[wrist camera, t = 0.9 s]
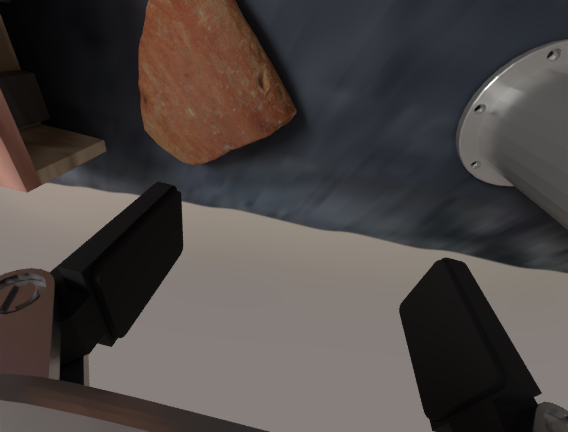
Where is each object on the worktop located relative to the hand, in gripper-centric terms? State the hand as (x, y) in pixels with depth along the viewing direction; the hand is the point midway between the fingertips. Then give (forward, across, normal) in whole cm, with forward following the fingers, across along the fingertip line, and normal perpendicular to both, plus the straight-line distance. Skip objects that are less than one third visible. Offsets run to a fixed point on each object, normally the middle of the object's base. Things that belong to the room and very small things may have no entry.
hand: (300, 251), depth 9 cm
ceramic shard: (+21, +12, 0) cm, 25 cm away
